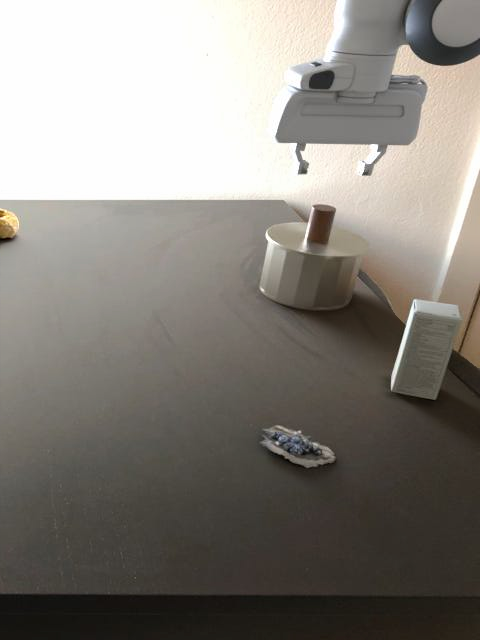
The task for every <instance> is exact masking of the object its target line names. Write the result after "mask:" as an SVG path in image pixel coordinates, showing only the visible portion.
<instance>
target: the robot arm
mask: <svg viewBox="0 0 480 640" xmlns="http://www.w3.org/2000/svg"><path fill="white" fill-rule="evenodd" d="M401 46H408V47H409V48H410V50H411V51H412V53H413V54H414V55H415V56H416V57H417V58H418V59H420V60H422V61H423V62H425V63H427V64H430V65H434V66H438V67H439V66H440V67H451V66H456V65H461V64H465V63H466V62H469V61H471V60H473V59H475V58H476V57H477V58H478V56H480V0H337V1H336V5H335V9H334V27H333V33H332V35H331V38H330V40H329V42H328V43H327V46H326V49H325V53H324V54H325V55H324V56H321V57H319V58H316V59H313V60H309V61H307V62H306V61H305V62H303V63H299V64H296V65H293V66H290V67H288V68H287V70H286V71H285V75H284V79H285V82H286V83H287V84H288V85H286V86H284V87H283V88H281V90H280V91H279V92H278V94H277V96H276V98H275V101H274V104H273V107H272V111H271V114H270V118H269V122H268V128H267V132H268V135H269V136H270V138H271V139H272V140H273V141H274V142H276V143H278V144H290V145H289V149H290V152H291V154H292V157H293V160H294V164H293V168H292V172H293V174H295V175H298V176H299V175H307V174H308V172H309V171H308V169H309V167H310V162H309V161H307V160H306V159H304V158H303V156H302V153H301V152H305V150H306V147H307V145H309V144H310V145H313V144H314V145H358V146H359V145H361V146H362V145H363V146H369V149H370V150H371V152H370V153H369V155H368V156H367V157H366V158H365V160H359V161H358V164H357V169H356V174H357V175H359V176H361V177H370V176H372V174H373V171H374V167H375V165H376V164H377V163H378V162H379V161H380V160H381V159H382V158H383V157H384V155H385V154H387V149H388V146H410V145H411V144H412V143H413V142H414V141H415V140H416V138H417V137H418V133H419V128H420V123H421V118H422V110H423V109H422V108H423V104H424V103H425V100H426V97H427V93H428V83H427V82H426V80H424V79H423V78H421V76H420V75H416V74H412V75H411V74H410V75H403V74H393V71H394V68H395V63H396V60H397V56H398V52H399V49H400V47H401Z"/></svg>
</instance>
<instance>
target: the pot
mask: <svg viewBox="0 0 480 640" xmlns="http://www.w3.org/2000/svg"><path fill="white" fill-rule="evenodd" d="M363 258H364V255H363V256H361V257H358V258H353V259H343V260H329V259H318V258H311V257H306V256H301V255H297V254H293V253H290V252H287V251H284V250H282V249H280V248H277V247H276V246H274V245H272V244H271V243H270V242H269V241H268V240H267V246H266V251H265V256H264V260H263V266H262V271H261V276H260V280H259V290H260V292H261V293H262V294H263V295H264V296H265V297H266V298H268V299H269V300H271V301H273V302H275V303H278V304H280V305H283V306H286V307H290V308H293V309H297V310H298V309H299V310H304V311H314V312H331V311H336V310H340V309H343V308H345V307H347V306H348V305H350V302H351V300H352V297H353V295H354V291H355V286H356V283H357V279H358V276H359V272H360V268H361V265H362V261H363Z"/></svg>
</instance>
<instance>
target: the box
mask: <svg viewBox="0 0 480 640" xmlns="http://www.w3.org/2000/svg"><path fill="white" fill-rule="evenodd" d="M462 323H463V316H462V312H461V308H460V306H459V305H458V304H450V303H445V302H444V303H443V302H436V301H431V300H423V299H417V298H416V299H413V301H412V304H411V308H410V311H409V315H408V317H407V322H406V325H405V328H404V332H403V336H402V339H401V343H400V345H399V350H398V353H397V356H396V360H395V363H394V366H393V370H392V373H391V377H390V378H391V379H390V391H391V392H392V393H395V394H401V395H406V396H411V397H417V398H420V399H428V400H434V401H436V400H437V398H438V395H439V392H440V389H441V386H442V384H443V380H444V376H445V373H446V370H447V368H448V364H449V361H450V358H451V355H452V352H453V349H454V346H455V343H456V340H457V337H458V335H459V331H460V328H461V325H462Z"/></svg>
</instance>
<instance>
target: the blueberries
mask: <svg viewBox="0 0 480 640" xmlns="http://www.w3.org/2000/svg"><path fill="white" fill-rule="evenodd" d="M261 431H262V432H263V433H261V437H262V438H263V439H262V440H260V441H259V444H262V445H261V447H266V448H267V449H268V450H270V451H271V452H273V453H276V454H278V455H280V456H281V455H282V456H283V457H284V459H288V460H289V461H290V462H291V463H293V464H296V465H300V466H303V467H304V468H306V469H309V468H317V467H319V465H321V466H324V465H326V464H328V463H329V464H332V463H334V462H336V459H337V456H335V452H333V451H332V450H331V448H329V446H325V445H324V444H320V443H319V442H318V441H312V440H310V439H308V438H311V437H312V436H309V435H304V434H302V430H301V429H300V430H297V431H296V430H295V429H292V428H291V427H289V426H286V425H273V426H271V427H268V428H261Z"/></svg>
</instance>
